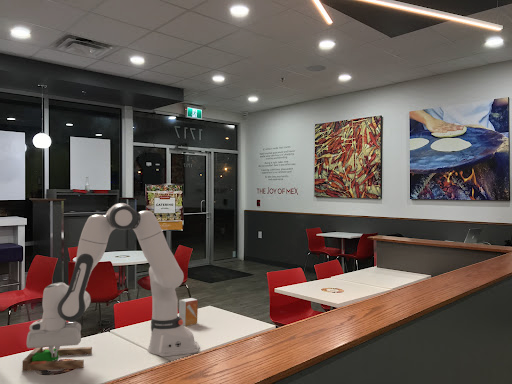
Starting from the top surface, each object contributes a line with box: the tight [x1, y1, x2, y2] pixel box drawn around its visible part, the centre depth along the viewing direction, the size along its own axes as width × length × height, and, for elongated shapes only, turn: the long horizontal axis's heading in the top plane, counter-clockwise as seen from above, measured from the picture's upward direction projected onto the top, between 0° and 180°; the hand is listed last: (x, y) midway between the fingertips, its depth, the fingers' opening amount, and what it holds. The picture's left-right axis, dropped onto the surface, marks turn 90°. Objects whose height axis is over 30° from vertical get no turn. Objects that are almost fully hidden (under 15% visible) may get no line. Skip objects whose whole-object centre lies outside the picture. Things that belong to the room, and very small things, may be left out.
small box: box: [178, 297, 199, 327], centre depth 226 cm, size 8×6×13 cm
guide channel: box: [21, 346, 93, 372], centre depth 171 cm, size 22×17×4 cm
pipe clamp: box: [32, 347, 59, 362], centre depth 169 cm, size 11×4×5 cm, turn 155°
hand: (54, 356), depth 170 cm, fingers closed
